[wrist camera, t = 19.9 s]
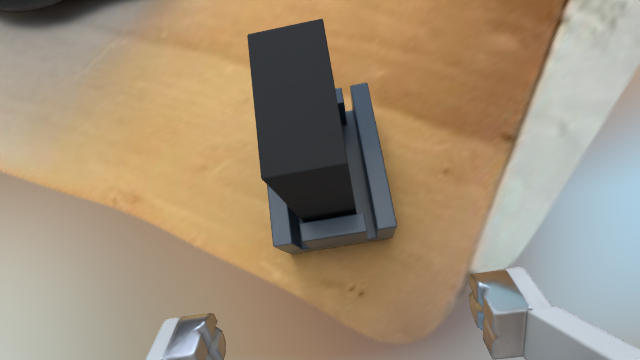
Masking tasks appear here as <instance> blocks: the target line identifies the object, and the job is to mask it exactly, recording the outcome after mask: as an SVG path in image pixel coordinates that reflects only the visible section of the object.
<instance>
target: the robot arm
mask: <svg viewBox="0 0 640 360" xmlns="http://www.w3.org/2000/svg"><path fill="white" fill-rule="evenodd" d="M469 285H470V287H471V289H472V292H471V294H470V295H469V301H470V308H471V312H472V315H473V318H474V321H475V323H476V325H477V327H478V328H480V329H481V330H483V340H484V342H485V344H486V346H487V349H488V351H489V353H490V355H491V357H492V359H503V358H513V357H524V358H525V359H526V360H640V349H638V348H636V347H635V346H633V345H631V344H629V343H627V342H625V341H623V340H621V339H619V338H617V337H616V336H614V335H611V334H610V333H608V332H606V331H604V330H602V329H600V328H598V327H596V326H595V325H593V324H591V323H589V322H587V321H585V320H583V319H581V318H579V317H577V316H575V315H574V314H572V313H570V312H568V311H566V310H564V309H562V308H560V307H553V306H552V305H551V303H550V302H549V301H548V299H547V298H546V297H545V295H544V294H543V293H542V291H541V290H540V289H539V287H538V286H537V284H536V283H535V282H534V280H533V279H532V278H531V276H530V275H529V274H528V272H527V271H526V270H525V268H523V267H515V268H508V269H504V270H496V271H489V272H483V273H477V274H470V276H469ZM216 324H217V319H216V317H215V315H214V314H212V313H208V314H199V315H191V316H183V317H178V318H169V319H167V320H165V321H164V322H163V324H162V326H161V329H160V331H159V333H158V335H157V337H156V339H155V341H154V343H153V345H152V347H151V349H150V351H149V354H148V356H147V358H146V360H224V357H225V352H226V351H225V350H226V342H225V337H224V334H223V332H222V330H220V329H219V328H217V327H216Z"/></svg>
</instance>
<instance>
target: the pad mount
mask: <svg viewBox="0 0 640 360" xmlns="http://www.w3.org/2000/svg"><path fill="white" fill-rule="evenodd" d="M350 90H351V100H352V111H346V112H345V106H344V99H343V94H342V89H341V88H336V89H335V91H336V97H337V103H338V108H339V114H340V120H341V125H342V131H343V137H344V142H345V148H346V154H347V159H348V165H349V171H350V177H351V183H352V188H353V194H354V200H355V206H356V212H357V214H353V215H347V216H341V217H335V218H329V219H323V220H317V221H311V222H305V223H304V222H303V221H302V220H301V219H300V218H299V216H298V215H297V214H296V213H295V212H294V211H293V210H292V209H291V208H290V207H289V206H288V205H287V204H286V203H285V202H284V201H283V200H282V199H281V198H280V197H279V196H278V195H277V194H276V193H275V192H274V191H273V190H272V189H271V188H270V187H269V186H268V185H267V189H268V199H269V209H270V218H271V228H272V238H273V246H274V247H276V248H278V249H280V250H282V251H285V252H287V253H289V254H294V253H301V252H307V251H313V250H319V249H326V248H332V247H338V246H344V245H351V244H357V243H363V242H370V241H376V240H382V239H388V238H392V237H393V234H394V232H395V230H396V227H397V223H396V218H395V213H394V209H393V204H392V199H391V194H390V189H389V184H388V180H387V175H386V170H385V165H384V160H383V156H382V151H381V146H380V141H379V136H378V132H377V127H376V122H375V117H374V112H373V108H372V103H371V98H370V93H369V88H368V84H367V83H362V84H357V85H352V86H350Z"/></svg>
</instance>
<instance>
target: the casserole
mask: <svg viewBox="0 0 640 360" xmlns="http://www.w3.org/2000/svg"><path fill="white" fill-rule="evenodd" d="M60 1H62V0H0V11H6V12H17V11H29V10H34V9H38V8H42V7H46V6H50V5H53V4H55V3H57V2H60Z"/></svg>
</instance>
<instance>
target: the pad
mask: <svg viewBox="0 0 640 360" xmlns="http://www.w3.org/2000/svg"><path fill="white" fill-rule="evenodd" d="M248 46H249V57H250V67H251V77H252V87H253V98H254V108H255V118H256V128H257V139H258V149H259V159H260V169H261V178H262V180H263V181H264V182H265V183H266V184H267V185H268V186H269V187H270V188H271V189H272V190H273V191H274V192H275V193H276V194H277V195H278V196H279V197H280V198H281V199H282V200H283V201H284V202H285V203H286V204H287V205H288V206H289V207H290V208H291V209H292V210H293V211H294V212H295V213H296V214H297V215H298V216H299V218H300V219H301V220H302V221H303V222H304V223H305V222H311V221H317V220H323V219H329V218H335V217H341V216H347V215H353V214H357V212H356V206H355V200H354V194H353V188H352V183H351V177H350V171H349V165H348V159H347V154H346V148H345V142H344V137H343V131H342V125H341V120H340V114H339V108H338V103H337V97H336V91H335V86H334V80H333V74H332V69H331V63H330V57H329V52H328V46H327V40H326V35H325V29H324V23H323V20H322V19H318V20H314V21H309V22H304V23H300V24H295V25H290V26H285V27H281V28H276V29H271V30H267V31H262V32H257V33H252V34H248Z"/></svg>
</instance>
